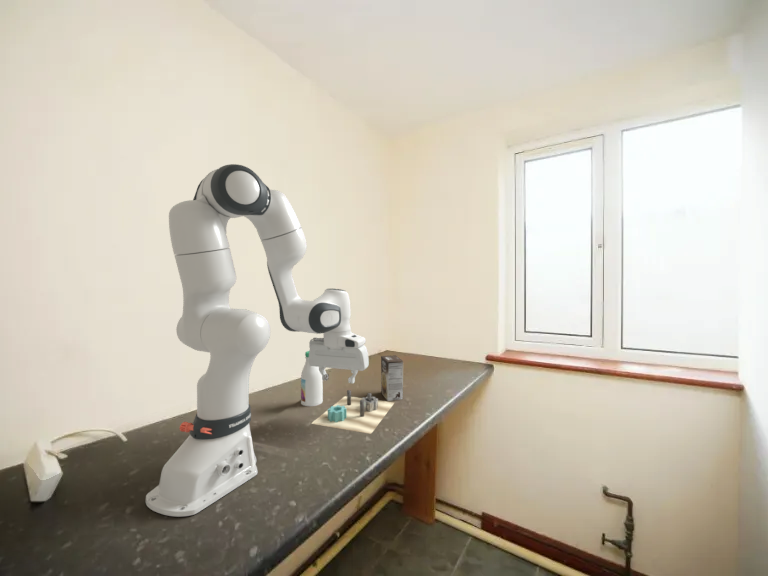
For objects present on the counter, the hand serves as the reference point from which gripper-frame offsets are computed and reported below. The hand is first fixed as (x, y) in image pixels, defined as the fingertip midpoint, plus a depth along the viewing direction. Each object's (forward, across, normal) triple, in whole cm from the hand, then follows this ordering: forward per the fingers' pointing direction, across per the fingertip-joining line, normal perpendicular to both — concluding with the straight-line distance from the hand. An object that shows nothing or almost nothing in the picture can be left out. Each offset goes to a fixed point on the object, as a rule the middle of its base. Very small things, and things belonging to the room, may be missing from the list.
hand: (338, 381), depth 97 cm
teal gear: (+12, 0, -1) cm, 12 cm away
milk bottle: (+14, -15, +8) cm, 22 cm away
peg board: (+13, +4, +5) cm, 15 cm away
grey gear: (+12, +7, +10) cm, 17 cm away
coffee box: (+14, +11, +23) cm, 29 cm away
